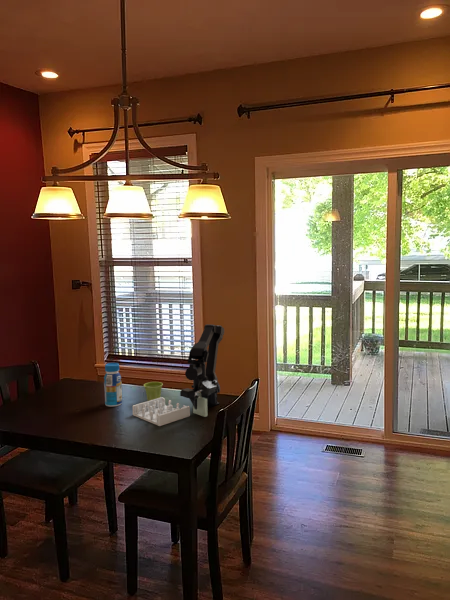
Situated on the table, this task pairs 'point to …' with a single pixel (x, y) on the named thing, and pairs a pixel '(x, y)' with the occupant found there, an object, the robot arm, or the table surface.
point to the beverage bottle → (112, 385)
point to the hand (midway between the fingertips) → (200, 407)
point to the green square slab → (201, 407)
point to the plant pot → (153, 390)
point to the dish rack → (160, 411)
